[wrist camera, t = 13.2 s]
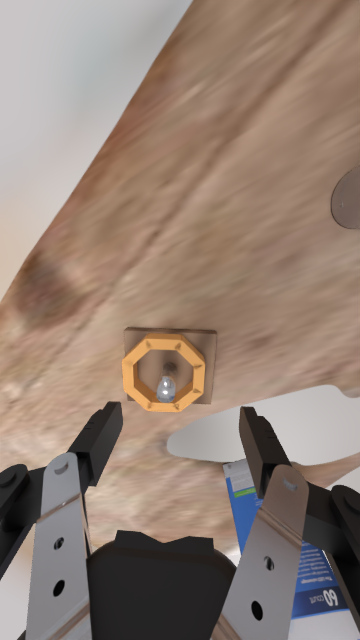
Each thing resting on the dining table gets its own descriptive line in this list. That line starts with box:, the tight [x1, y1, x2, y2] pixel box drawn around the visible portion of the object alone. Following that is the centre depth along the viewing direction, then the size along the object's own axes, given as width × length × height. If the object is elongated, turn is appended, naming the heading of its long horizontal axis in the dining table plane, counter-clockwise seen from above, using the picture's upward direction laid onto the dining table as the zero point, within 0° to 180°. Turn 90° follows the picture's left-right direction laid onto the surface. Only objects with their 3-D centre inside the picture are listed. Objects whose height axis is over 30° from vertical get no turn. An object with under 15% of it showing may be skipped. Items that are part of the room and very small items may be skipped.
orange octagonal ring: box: [122, 333, 205, 412], centre depth 35 cm, size 15×15×3 cm
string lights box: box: [223, 459, 360, 640], centre depth 33 cm, size 13×8×26 cm, turn 111°
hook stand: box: [124, 328, 217, 404], centre depth 34 cm, size 18×16×10 cm
